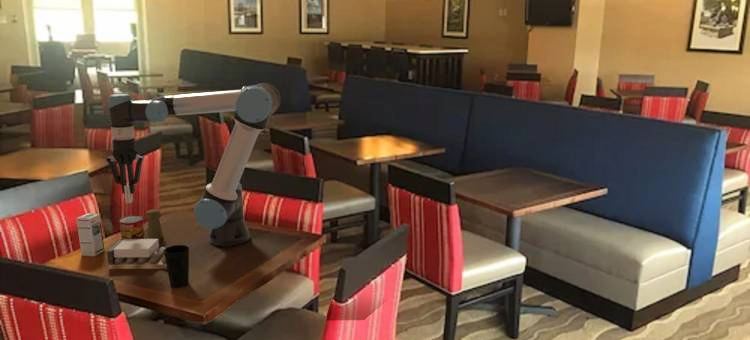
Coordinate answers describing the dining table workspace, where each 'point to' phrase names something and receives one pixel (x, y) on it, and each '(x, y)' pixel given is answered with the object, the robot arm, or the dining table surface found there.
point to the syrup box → (90, 234)
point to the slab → (136, 248)
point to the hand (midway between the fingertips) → (129, 201)
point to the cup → (177, 265)
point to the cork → (154, 225)
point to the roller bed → (136, 260)
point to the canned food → (132, 227)
